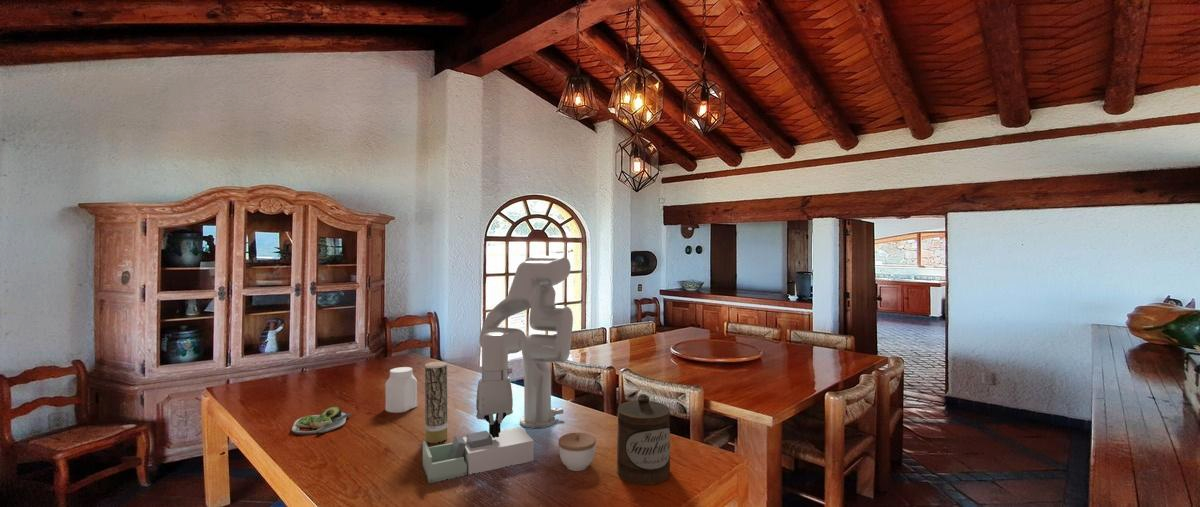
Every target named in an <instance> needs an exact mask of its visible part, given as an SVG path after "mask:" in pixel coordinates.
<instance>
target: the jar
mask: <svg viewBox="0 0 1200 507" xmlns="http://www.w3.org/2000/svg"><path fill="white" fill-rule="evenodd" d="M384 387H385V412H387V413H393V414H394V413H395V414H396V413H405V412H407V411H409V410H411V409H412V410H413V409H414V408H417V407H418V380H417V378H416V377H415V375H414V373H413V368H412V367H409V366H402V367H394V368H391V369H390V370H389V378H388V379H387V380H386V382H385V384H384Z"/></svg>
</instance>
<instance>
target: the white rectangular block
mask: <svg viewBox="0 0 1200 507" xmlns="http://www.w3.org/2000/svg"><path fill="white" fill-rule="evenodd" d="M462 438H463V439H464V441H465V443H466V446H465V449H464V452H463V456H462V457H464V460H465V462H466V464H467V472H468V473H467V475H469V474H470V475H473V474H472V473H475V474H480V473H483V472H489V471H493V470H497V469H503V468H506V467H505V466H507V467H511V466H510V465H512V466H516V465H520V464H526V463H529V462H534V459H535V458H534V453H535V451H534V450H535V449H534V448H535V447H534V446H535V445H534V444H535V443H534V442H535V441H534V439H533V438H532V437H531V436H530V435H529V434H528V433H527V432H526V431H525V430H524V429H523V428H522V427H521V426H519V427H514V428H508V429H503V430H500V433H499V437H495V438H493V437H492V445H487V446H482V447H477V448H471V447H470V445H469V444H468V442H467V436H462ZM502 467H503V468H502ZM479 472H480V473H479Z"/></svg>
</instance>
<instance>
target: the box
mask: <svg viewBox="0 0 1200 507" xmlns="http://www.w3.org/2000/svg"><path fill="white" fill-rule="evenodd" d="M452 444H453V442H450V443H444V444H436V445H434V446H428V442H427V441H426V440H422V467H423V470H424V472H425V475H426V479H427V481H428V484H434V483H437V482H442V480H443V481H447V480H446V479H448V480H451V479H455V478H456V477H457V478H461V477H465V476H464V475H466V476H468V473H467V464H466V462H465V460H464V457H460V458H455V459H450V458H449V454H450V450H451V447H452ZM460 476H461V477H460Z"/></svg>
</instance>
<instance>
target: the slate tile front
mask: <svg viewBox="0 0 1200 507" xmlns="http://www.w3.org/2000/svg"><path fill="white" fill-rule="evenodd" d="M452 443H453V444H452V447H451V450H450V454H449V458H450V459H455V458H460V457H462V456H463V452H464V449H465V446H466V443H465V441H464V439H463V436H462V435H454V438H453V442H452Z"/></svg>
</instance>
